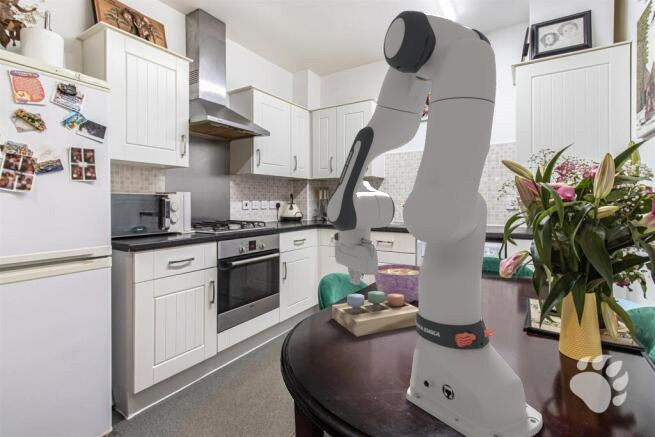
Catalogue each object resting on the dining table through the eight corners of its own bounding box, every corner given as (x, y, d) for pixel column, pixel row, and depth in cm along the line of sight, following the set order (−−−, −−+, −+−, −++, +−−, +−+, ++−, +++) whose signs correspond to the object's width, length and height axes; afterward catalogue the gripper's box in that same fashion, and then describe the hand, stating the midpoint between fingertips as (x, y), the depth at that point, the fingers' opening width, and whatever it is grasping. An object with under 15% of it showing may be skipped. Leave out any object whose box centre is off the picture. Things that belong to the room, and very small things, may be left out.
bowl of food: (409, 291, 132) (409, 262, 132) (441, 305, 113) (441, 272, 113) (363, 296, 126) (363, 266, 126) (389, 312, 107) (389, 276, 107)
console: (423, 323, 96) (423, 310, 96) (357, 336, 88) (356, 321, 88) (391, 308, 111) (391, 296, 111) (332, 317, 102) (332, 305, 102)
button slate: (367, 317, 95) (367, 297, 95) (352, 319, 93) (352, 299, 93) (359, 312, 100) (358, 293, 100) (344, 314, 98) (344, 295, 98)
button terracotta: (407, 315, 101) (407, 296, 101) (393, 318, 99) (393, 298, 99) (397, 311, 105) (397, 292, 105) (384, 313, 103) (384, 294, 103)
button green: (387, 313, 98) (387, 294, 98) (373, 316, 96) (373, 296, 96) (378, 309, 103) (378, 290, 102) (364, 311, 101) (364, 292, 100)
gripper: (384, 240, 87) (383, 291, 88) (349, 233, 106) (348, 275, 107) (363, 241, 85) (362, 294, 86) (331, 233, 104) (331, 277, 104)
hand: (354, 283), depth 96 cm, fingers closed
